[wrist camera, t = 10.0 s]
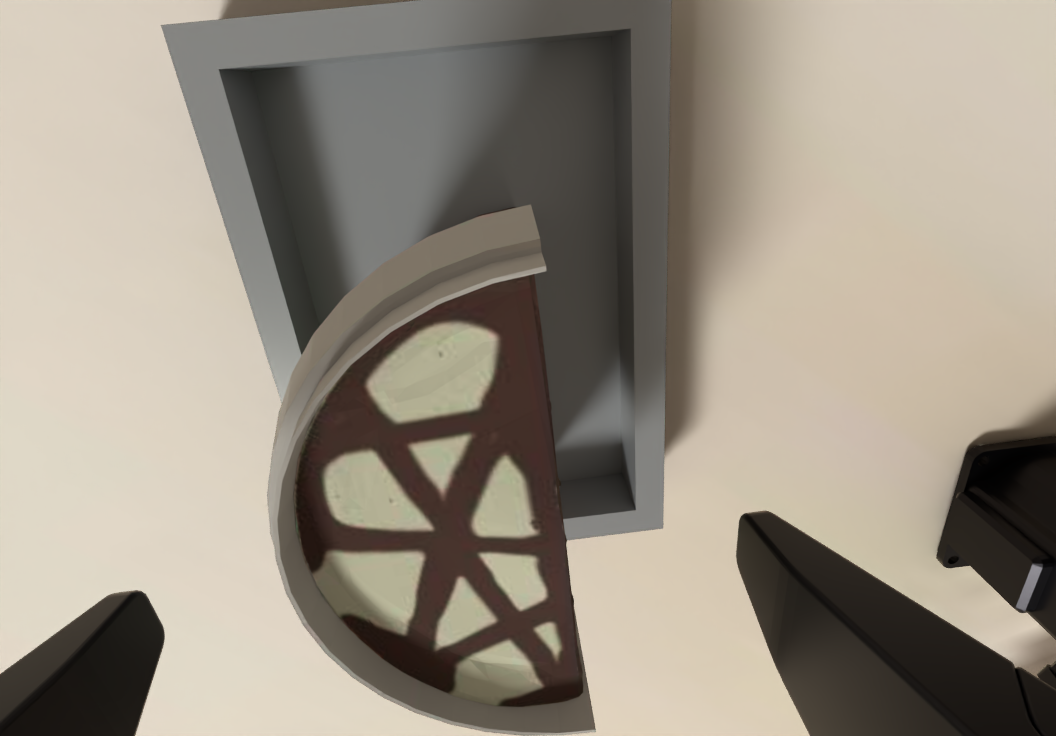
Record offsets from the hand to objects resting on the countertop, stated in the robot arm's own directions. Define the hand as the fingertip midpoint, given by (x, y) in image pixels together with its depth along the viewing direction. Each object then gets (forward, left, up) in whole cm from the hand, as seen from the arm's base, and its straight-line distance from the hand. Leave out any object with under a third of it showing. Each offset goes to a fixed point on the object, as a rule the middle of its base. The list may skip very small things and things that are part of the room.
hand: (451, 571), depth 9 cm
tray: (0, 0, -13) cm, 13 cm away
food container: (+1, +2, -12) cm, 12 cm away
